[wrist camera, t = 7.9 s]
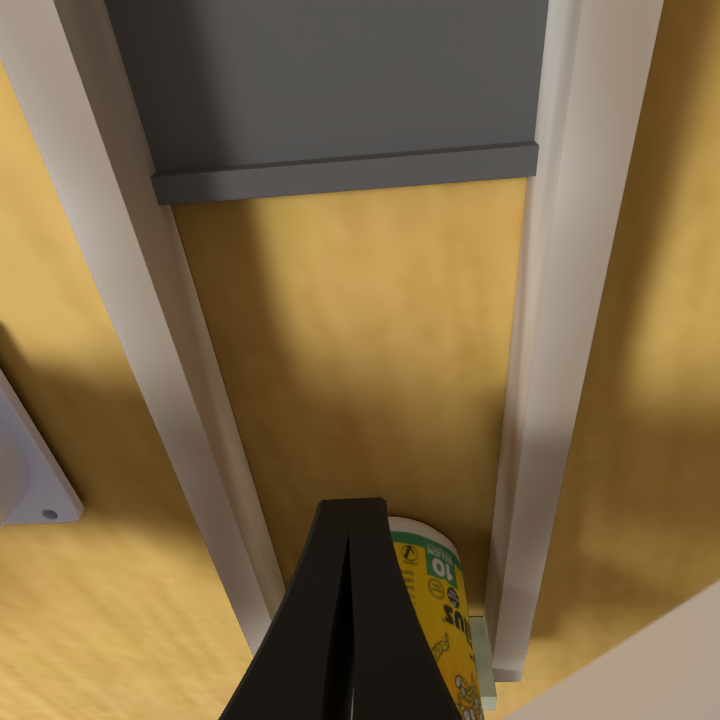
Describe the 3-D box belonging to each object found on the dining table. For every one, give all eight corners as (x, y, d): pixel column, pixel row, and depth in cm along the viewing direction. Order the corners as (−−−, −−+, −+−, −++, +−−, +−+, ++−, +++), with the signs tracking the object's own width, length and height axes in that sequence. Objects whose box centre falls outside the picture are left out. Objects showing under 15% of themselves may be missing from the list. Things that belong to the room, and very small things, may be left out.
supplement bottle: (301, 518, 18) (242, 919, 10) (453, 503, 17) (516, 921, 9) (334, 600, 21) (308, 958, 13) (465, 590, 20) (520, 961, 12)
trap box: (272, 635, 23) (260, 712, 20) (-226, -754, 6) (-704, -1356, 3) (509, 631, 22) (526, 710, 20) (771, -975, 5) (1175, -1967, 2)
